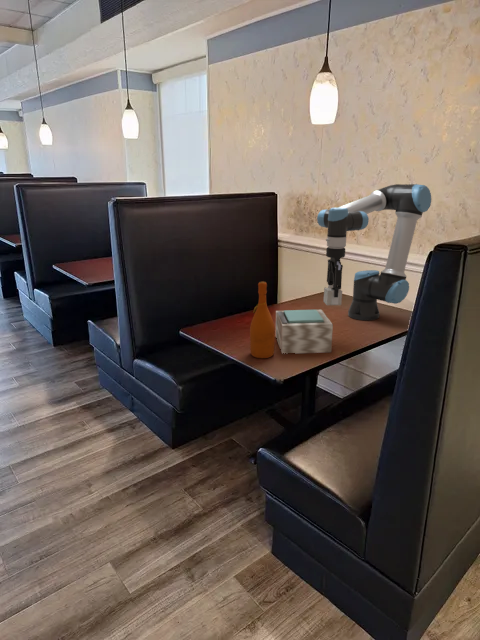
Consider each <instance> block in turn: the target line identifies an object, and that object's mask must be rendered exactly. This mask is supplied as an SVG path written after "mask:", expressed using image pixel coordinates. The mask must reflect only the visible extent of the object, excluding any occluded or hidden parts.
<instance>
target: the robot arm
mask: <svg viewBox="0 0 480 640" xmlns="http://www.w3.org/2000/svg"><path fill="white" fill-rule="evenodd" d="M431 204H432V192H431V190H430V188H429V187H428V186H427V185H424V184H417V183H416V184H413V183H411V184H406V183H405V184H401V183H400V184H399V183H398V184H396V183H395V184H391V185H388V186H385V187H381V188H379V189H377V190H374V191H372V192H371V193H370V194H369V195H366V196H364V197H361V198H359V199H356V200H354V201H352V202H349V203H346V204H344V205H340V206H338V207H331V208H329V209H327V208H326V209H321V210H320V211H319V212H318V214H317V218H316V220H317V224H318V226H319V227H322V228H326V229H327V236H326V239H325V242H326V246H327V247H326V252H325V253H326V254H325V255H326V258H329V259H327V273H326V283H327V288H331V289H332V300H331V305H330V306H339V305H338V300H339V289H341V290H342V276H343V275H342V274H343V268H344V266H343V264H342V262H341V259H343V258H345V257H346V248H345V247H347V235H348V234H347V233H348V232H352V231H361V230H364V229H366V228H367V227H368V225H369V221H370V220H369V219H370V218H369V216H368V214H370V213H373V212H382V211H384V210H385V211H388V210H391V211H395V213H394V214H395V216H396V217H397V219H396V222H395V226H394V231H393V235H392V239H391V242H390V243H391V244H390V247H389V251H388V255H387V258H386V259H387V260H386V264H385V268H384V269H382V270H381V271H379V270H375V269H372V270H367V269H366V270H359V271H357V272H355V273H354V278H353V290H352V301H351V304H350V306H349V309H348V311H347V312H348V313H347V315H348V317H350V318H351V319H355V320H359V321H375V320H377V319H379V318H380V310H379V309H380V308H379V306H378V301H383V302H385V303H387V304H394V305H395V304H400V303H401V302H403V301H404V300H405V298H406V297H407V295H408V294H409V291H410V283H409V281H407V275H406V273H405V270H406V267H407V263H408V259H409V254H410V251H411V247H412V242H413V238H414V234H415V230H416V225H417V223H418V221H419V219H421V218H422V217H423V213H425V212H427V211H428V210H429V209H430V208H431Z"/></svg>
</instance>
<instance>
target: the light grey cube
mask: <svg viewBox="0 0 480 640" xmlns="http://www.w3.org/2000/svg"><path fill="white" fill-rule="evenodd" d="M323 288H324V289H323V303H324V304H325V305H326V306H332V305H331V300H332V289H331V288H328V287H323ZM342 300H343V290H342V288H341V289H339V300H338V305H337V306H342Z"/></svg>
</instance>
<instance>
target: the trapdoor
mask: <svg viewBox="0 0 480 640" xmlns="http://www.w3.org/2000/svg"><path fill="white" fill-rule="evenodd" d="M317 310H318V309H295V310H294V309H292V310H291V309H290V310H289V309H288V310H287V309H286V310H283V311H284V314H285V316H286V318H287V320H288V322H289V323H311V322H324V320H323V318H322V317H321V316H320V314H319V313H318V312H317Z"/></svg>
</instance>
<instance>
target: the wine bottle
mask: <svg viewBox="0 0 480 640" xmlns="http://www.w3.org/2000/svg"><path fill="white" fill-rule="evenodd" d="M257 286H258V287H257V288H258V289H257V290H258V291H257V293H258V303H257V305H256V306H254V308H253V312H252V313H253V317H252V318H251V322H250V327H249V344H250V345H249V346H250V347H249V349H250V350H249V351H250V355H251V356H252V357H254V358H257V359H268V358H271V357H273V356H274V354H275V344H276V343H275V342H276V341H275V340H276V326H275V322H274V320H273V317H272V314H271V312H270V310H269V308H268V304H267V292H268V290H267V287H268V284H267V282H266V281H259V282H258V284H257Z"/></svg>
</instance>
